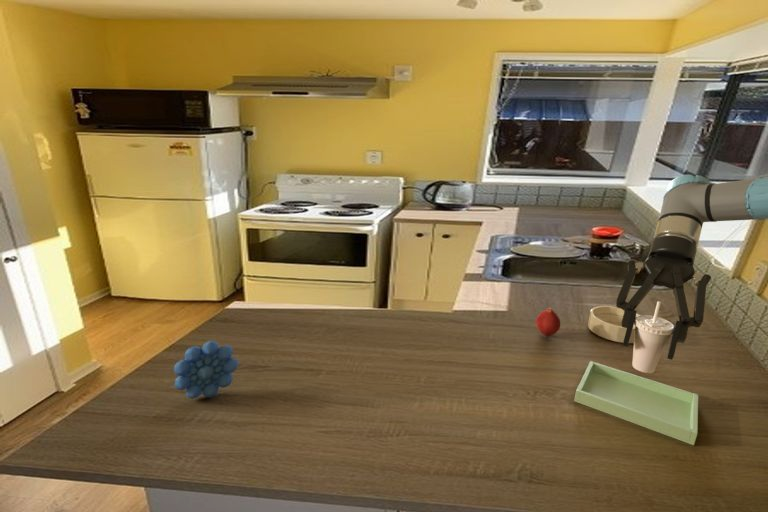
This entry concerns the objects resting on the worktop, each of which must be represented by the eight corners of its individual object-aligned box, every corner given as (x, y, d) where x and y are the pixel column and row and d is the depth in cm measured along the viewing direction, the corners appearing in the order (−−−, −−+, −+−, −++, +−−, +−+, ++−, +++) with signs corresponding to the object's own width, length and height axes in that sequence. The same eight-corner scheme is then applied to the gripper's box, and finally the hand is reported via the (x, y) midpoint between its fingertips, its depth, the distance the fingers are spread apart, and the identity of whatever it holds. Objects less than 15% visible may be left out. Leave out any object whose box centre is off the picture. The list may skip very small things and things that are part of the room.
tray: (695, 405, 84) (698, 394, 83) (693, 445, 73) (697, 433, 72) (588, 370, 94) (590, 360, 94) (573, 401, 84) (576, 390, 83)
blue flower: (241, 379, 88) (236, 327, 84) (240, 399, 82) (235, 344, 78) (180, 388, 85) (172, 334, 81) (174, 409, 79) (166, 352, 75)
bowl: (646, 330, 114) (650, 314, 112) (640, 350, 103) (644, 333, 102) (593, 316, 121) (596, 301, 120) (583, 333, 111) (585, 318, 109)
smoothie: (620, 367, 81) (635, 300, 77) (629, 354, 86) (644, 291, 81) (658, 381, 77) (677, 311, 73) (666, 367, 82) (684, 301, 77)
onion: (538, 328, 113) (542, 301, 110) (560, 335, 110) (565, 307, 107) (531, 337, 108) (535, 308, 106) (554, 344, 105) (559, 314, 103)
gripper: (731, 264, 82) (709, 375, 74) (619, 244, 93) (590, 340, 85) (740, 243, 76) (718, 362, 69) (620, 225, 87) (589, 326, 79)
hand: (647, 349), depth 77 cm, fingers closed on smoothie, 6 cm apart
